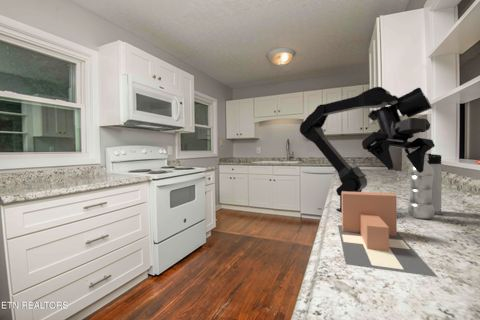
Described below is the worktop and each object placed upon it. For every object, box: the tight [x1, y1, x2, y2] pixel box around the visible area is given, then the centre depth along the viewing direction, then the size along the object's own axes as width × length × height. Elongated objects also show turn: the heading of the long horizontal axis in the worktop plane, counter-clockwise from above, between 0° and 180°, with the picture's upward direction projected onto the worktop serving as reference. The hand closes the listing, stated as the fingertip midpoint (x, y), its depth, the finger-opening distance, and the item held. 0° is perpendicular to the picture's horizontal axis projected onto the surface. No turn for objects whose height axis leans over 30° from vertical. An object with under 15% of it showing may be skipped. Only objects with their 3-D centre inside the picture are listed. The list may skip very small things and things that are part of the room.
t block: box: [341, 191, 398, 251], centre depth 54 cm, size 14×12×10 cm
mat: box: [337, 224, 439, 278], centre depth 50 cm, size 24×14×1 cm, turn 160°
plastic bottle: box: [407, 153, 435, 220], centre depth 69 cm, size 6×7×20 cm
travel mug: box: [427, 153, 443, 216], centre depth 76 cm, size 6×7×20 cm
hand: (406, 170), depth 60 cm, fingers open, 9 cm apart
